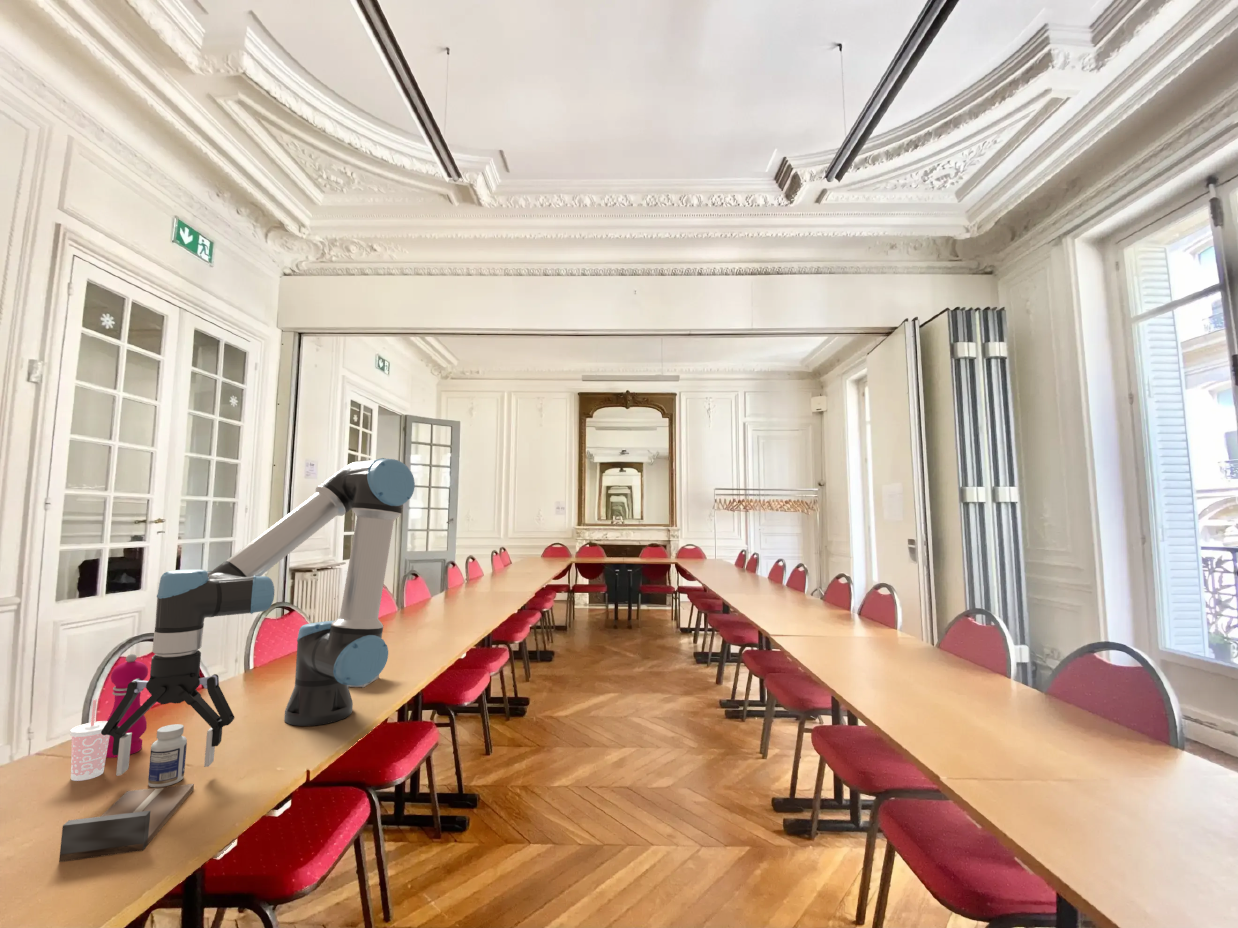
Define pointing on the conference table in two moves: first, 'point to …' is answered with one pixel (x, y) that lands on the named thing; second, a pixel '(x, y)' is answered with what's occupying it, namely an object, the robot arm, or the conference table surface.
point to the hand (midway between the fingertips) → (166, 768)
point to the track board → (122, 824)
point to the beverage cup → (88, 749)
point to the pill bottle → (167, 756)
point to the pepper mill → (121, 680)
